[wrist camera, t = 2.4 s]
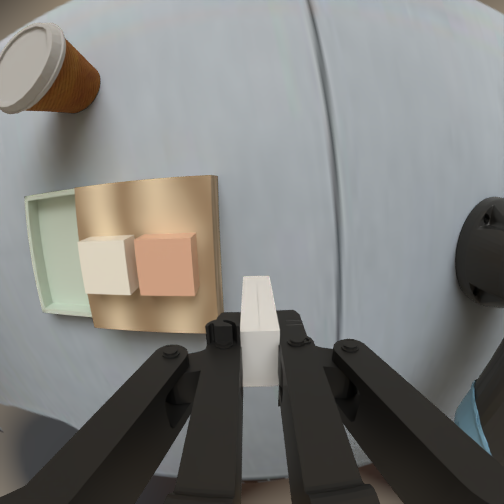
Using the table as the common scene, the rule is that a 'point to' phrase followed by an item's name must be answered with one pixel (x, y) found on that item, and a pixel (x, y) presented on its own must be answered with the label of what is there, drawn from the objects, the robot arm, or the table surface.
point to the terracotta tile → (167, 264)
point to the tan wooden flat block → (157, 222)
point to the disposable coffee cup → (45, 73)
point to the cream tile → (109, 265)
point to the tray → (56, 252)
